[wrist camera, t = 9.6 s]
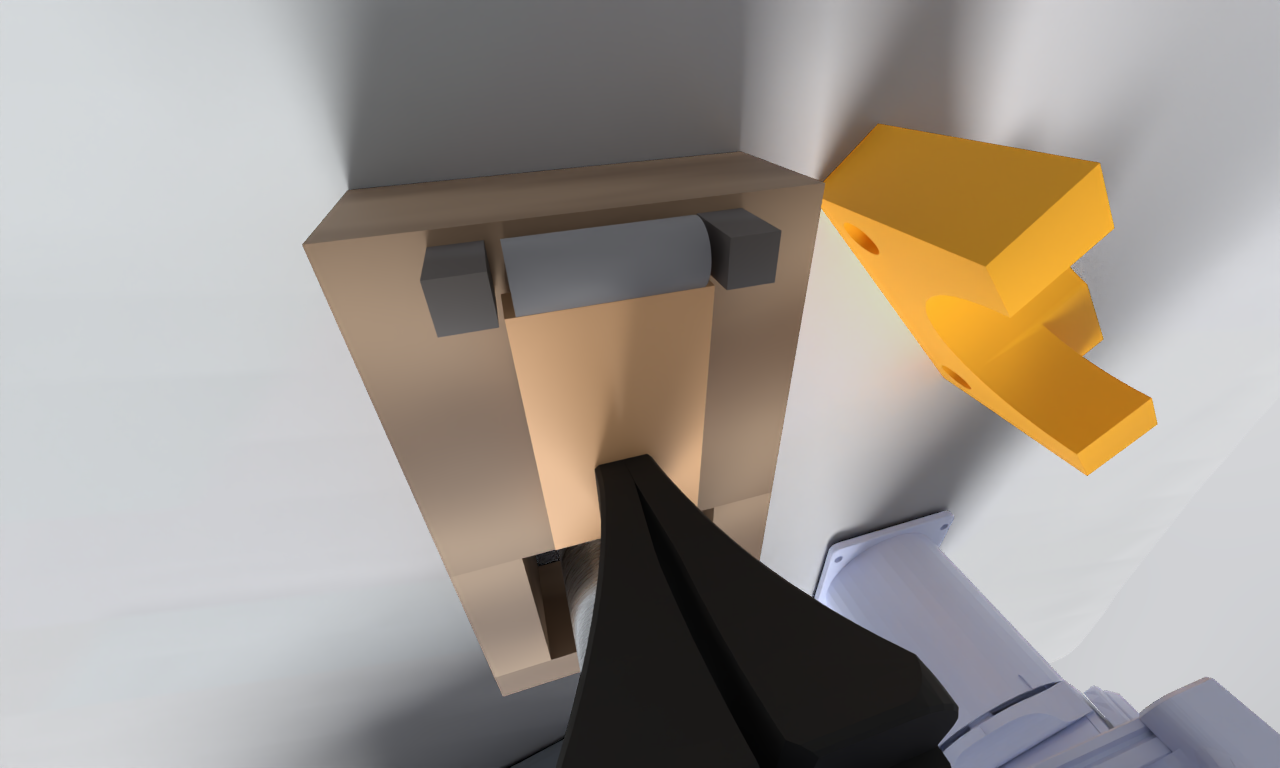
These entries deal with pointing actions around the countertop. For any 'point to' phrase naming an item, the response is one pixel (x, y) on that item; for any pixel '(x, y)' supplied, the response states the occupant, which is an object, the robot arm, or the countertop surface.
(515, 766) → the storage bin
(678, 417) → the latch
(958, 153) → the pipe clamp
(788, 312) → the wooden box
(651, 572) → the robot arm
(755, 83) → the countertop surface
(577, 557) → the peg
